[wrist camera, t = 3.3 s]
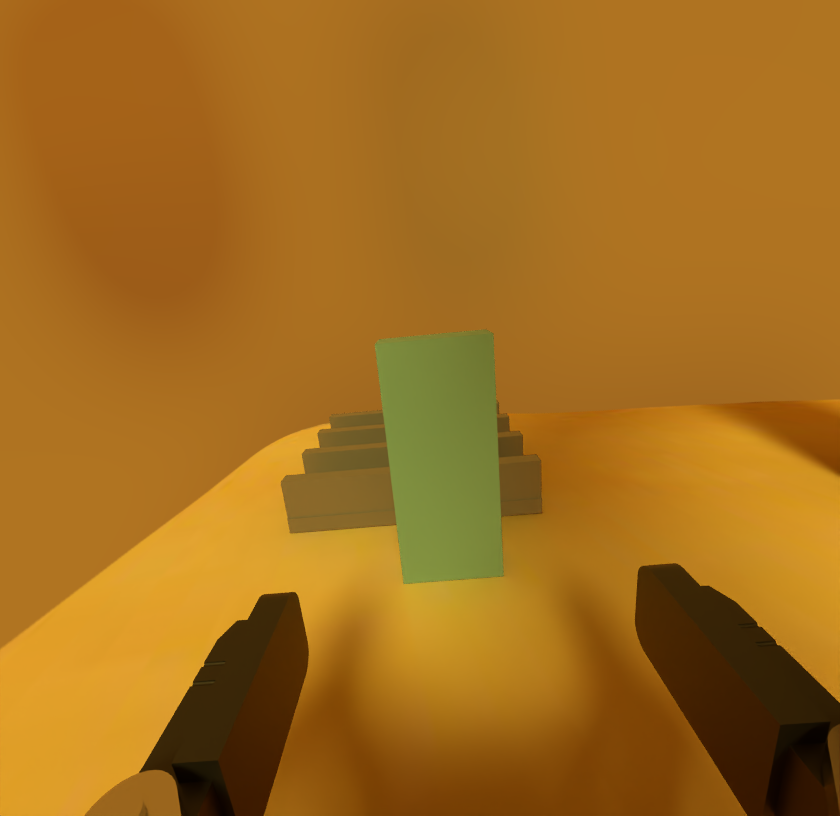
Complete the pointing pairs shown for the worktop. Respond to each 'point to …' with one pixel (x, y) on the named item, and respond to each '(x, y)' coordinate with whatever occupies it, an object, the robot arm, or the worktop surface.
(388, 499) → the rack
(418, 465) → the card
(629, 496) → the worktop surface
